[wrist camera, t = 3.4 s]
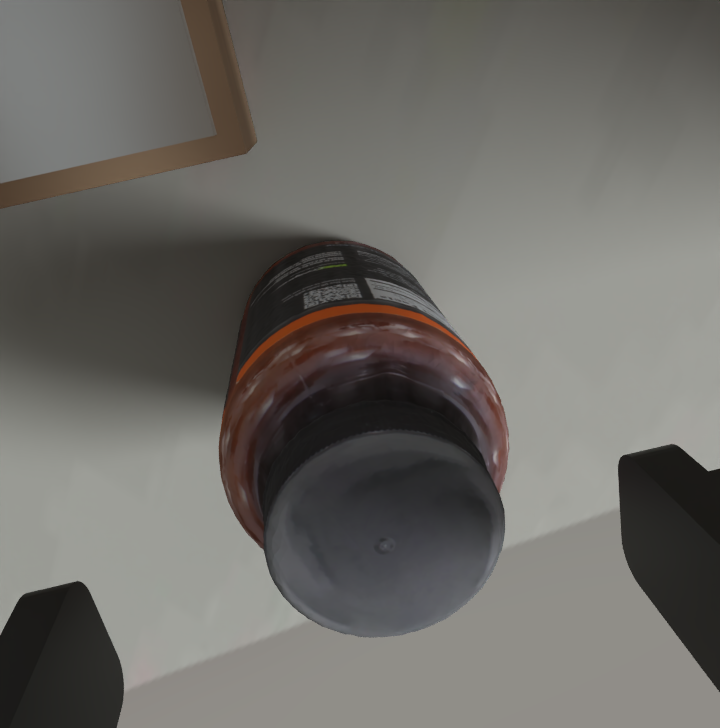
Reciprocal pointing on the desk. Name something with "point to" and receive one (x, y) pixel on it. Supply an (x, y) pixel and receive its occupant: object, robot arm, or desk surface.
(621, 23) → the desk surface
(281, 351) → the supplement bottle
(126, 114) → the wooden rimmed tray
